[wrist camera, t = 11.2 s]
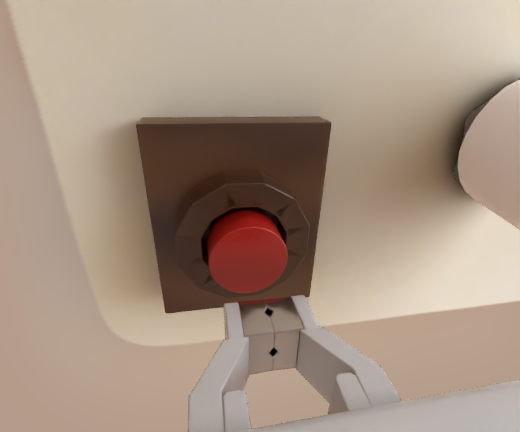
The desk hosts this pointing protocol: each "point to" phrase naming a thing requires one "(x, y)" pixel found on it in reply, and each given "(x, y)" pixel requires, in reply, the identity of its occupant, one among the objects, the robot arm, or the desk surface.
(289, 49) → the desk surface
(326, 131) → the button block
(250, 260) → the button
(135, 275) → the desk surface
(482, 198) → the cup
